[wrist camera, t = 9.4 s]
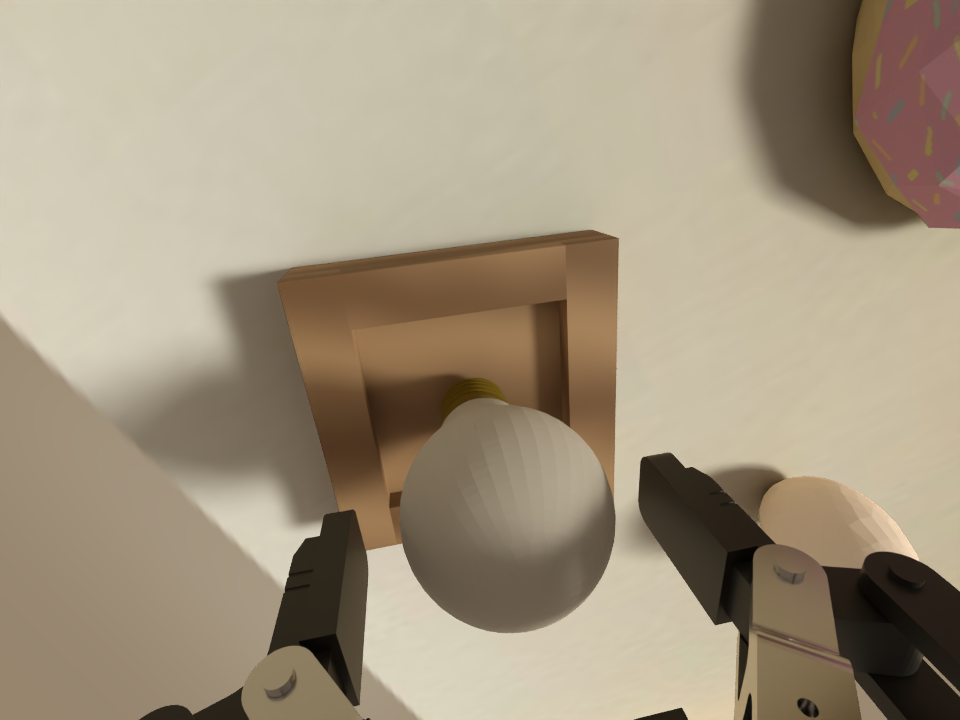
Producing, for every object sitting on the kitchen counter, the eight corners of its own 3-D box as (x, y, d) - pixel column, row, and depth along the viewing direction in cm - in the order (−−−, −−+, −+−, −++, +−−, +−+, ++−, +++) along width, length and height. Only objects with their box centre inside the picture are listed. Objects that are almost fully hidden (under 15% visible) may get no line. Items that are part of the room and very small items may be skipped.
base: (292, 268, 18) (276, 282, 16) (592, 230, 19) (618, 238, 17) (355, 514, 23) (351, 553, 20) (592, 470, 24) (613, 501, 22)
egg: (834, 484, 27) (985, 593, 20) (762, 543, 28) (882, 667, 21) (791, 435, 25) (942, 537, 18) (715, 500, 26) (831, 621, 19)
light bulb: (426, 475, 21) (450, 720, 12) (376, 360, 18) (355, 553, 9) (552, 431, 21) (673, 637, 12) (519, 310, 18) (638, 452, 9)
